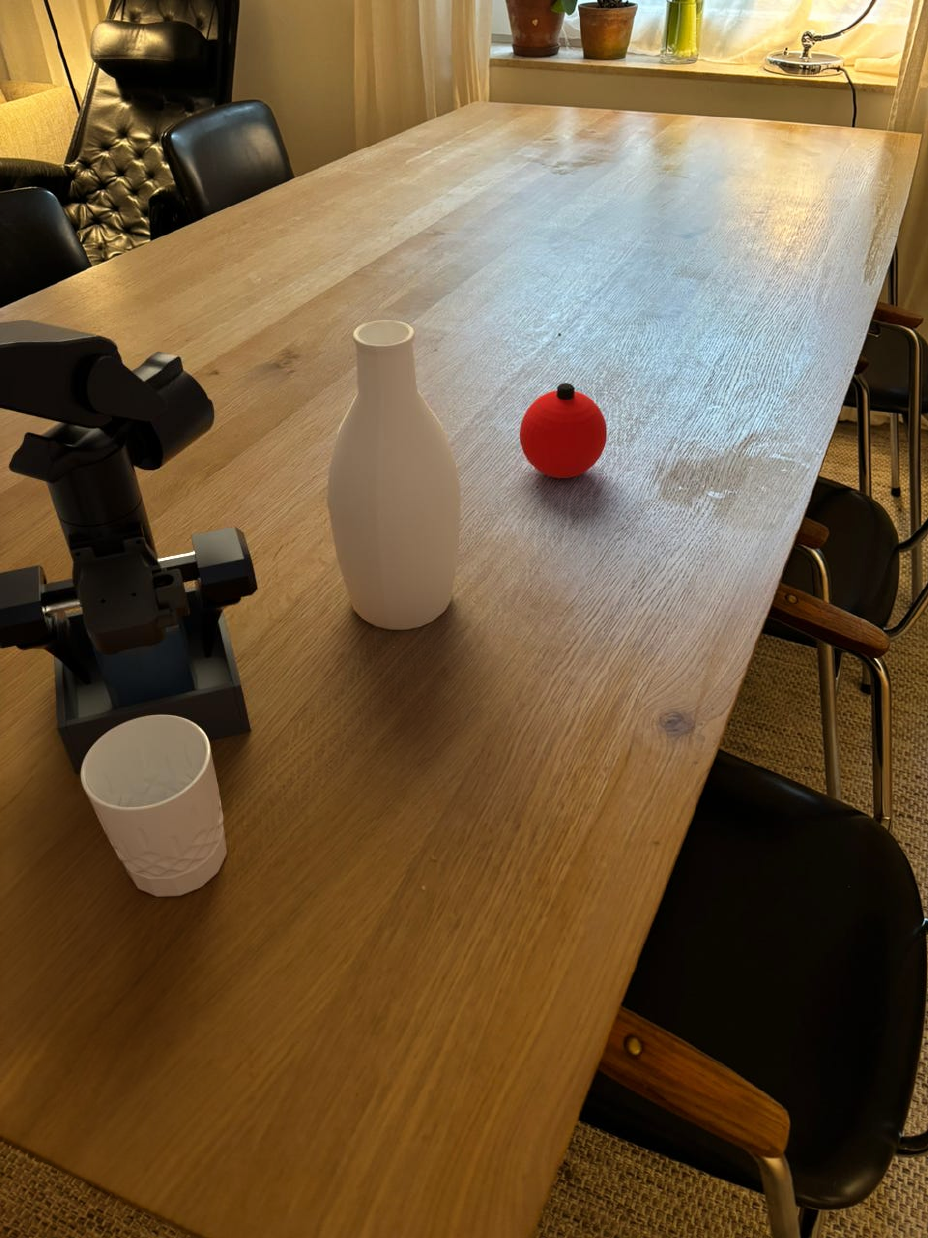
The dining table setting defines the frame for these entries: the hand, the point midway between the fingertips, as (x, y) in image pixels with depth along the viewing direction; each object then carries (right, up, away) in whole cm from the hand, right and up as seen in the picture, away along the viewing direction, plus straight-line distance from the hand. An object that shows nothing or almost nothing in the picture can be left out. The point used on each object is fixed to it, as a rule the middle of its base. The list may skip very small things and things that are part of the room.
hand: (148, 667), depth 79 cm
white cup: (+5, -13, -10) cm, 17 cm away
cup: (0, -2, +1) cm, 3 cm away
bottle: (+19, +5, +11) cm, 23 cm away
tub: (0, -2, +2) cm, 3 cm away
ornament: (+35, +19, +27) cm, 48 cm away
